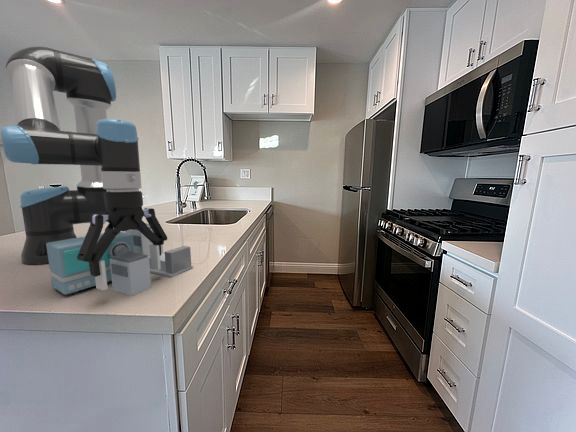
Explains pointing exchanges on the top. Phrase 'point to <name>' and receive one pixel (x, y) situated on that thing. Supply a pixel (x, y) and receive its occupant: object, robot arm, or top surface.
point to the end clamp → (176, 258)
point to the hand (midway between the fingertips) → (131, 277)
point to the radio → (80, 262)
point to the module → (130, 273)
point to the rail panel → (163, 267)
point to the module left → (141, 241)
